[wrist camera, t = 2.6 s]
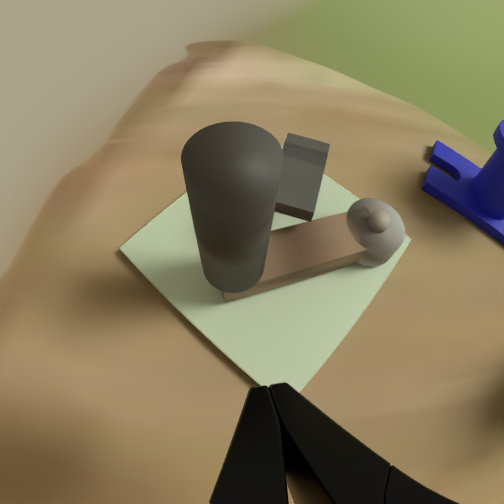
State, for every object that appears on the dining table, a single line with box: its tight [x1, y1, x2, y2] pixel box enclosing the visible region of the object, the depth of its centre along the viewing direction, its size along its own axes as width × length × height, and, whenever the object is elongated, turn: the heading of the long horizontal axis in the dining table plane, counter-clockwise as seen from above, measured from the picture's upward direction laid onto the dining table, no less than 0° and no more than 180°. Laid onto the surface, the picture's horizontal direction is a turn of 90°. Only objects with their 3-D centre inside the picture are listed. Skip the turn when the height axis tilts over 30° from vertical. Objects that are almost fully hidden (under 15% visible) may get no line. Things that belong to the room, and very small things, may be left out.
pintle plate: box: [120, 146, 411, 392], centre depth 23 cm, size 16×15×1 cm
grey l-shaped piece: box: [181, 122, 405, 303], centre depth 17 cm, size 14×4×11 cm, turn 108°
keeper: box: [274, 133, 330, 222], centre depth 22 cm, size 3×6×5 cm, turn 163°
